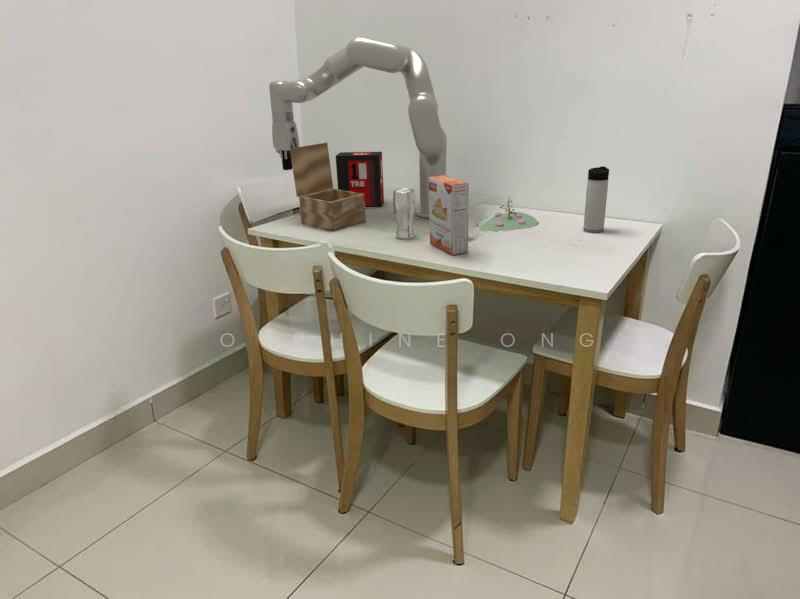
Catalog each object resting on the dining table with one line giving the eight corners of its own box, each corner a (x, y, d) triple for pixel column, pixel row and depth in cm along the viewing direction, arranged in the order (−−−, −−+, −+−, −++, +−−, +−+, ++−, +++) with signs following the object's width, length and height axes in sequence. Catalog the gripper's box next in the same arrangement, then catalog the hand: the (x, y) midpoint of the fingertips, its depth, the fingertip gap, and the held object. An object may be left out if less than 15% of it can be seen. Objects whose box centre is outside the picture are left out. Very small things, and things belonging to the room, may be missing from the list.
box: (366, 221, 215) (364, 193, 212) (332, 231, 205) (330, 202, 201) (335, 215, 226) (333, 188, 222) (301, 224, 215) (299, 196, 211)
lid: (327, 142, 217) (325, 142, 218) (291, 148, 206) (289, 148, 206) (333, 188, 222) (331, 188, 223) (298, 196, 211) (296, 196, 212)
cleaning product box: (339, 208, 237) (335, 155, 229) (343, 202, 245) (340, 152, 238) (381, 207, 235) (378, 155, 228) (384, 202, 243) (381, 151, 236)
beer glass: (391, 238, 195) (389, 192, 189) (398, 233, 201) (397, 187, 195) (411, 240, 192) (410, 193, 187) (418, 234, 198) (417, 188, 193)
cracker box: (428, 244, 188) (427, 176, 180) (445, 241, 190) (445, 174, 182) (450, 256, 176) (450, 184, 168) (468, 253, 178) (469, 181, 171)
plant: (514, 238, 193) (515, 210, 190) (459, 229, 205) (459, 203, 201) (548, 220, 211) (549, 195, 208) (495, 213, 223) (496, 189, 220)
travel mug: (607, 229, 196) (613, 167, 189) (597, 234, 192) (603, 170, 185) (589, 226, 200) (594, 165, 193) (579, 231, 196) (584, 168, 189)
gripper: (304, 117, 214) (308, 170, 221) (278, 115, 224) (283, 166, 231) (287, 119, 209) (292, 173, 216) (261, 117, 219) (267, 169, 225)
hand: (287, 169), depth 223 cm, fingers closed
